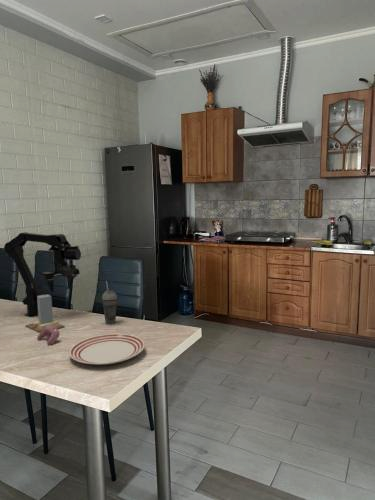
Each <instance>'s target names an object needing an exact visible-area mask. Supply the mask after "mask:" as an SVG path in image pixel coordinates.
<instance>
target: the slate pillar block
mask: <svg viewBox="0 0 375 500" xmlns="http://www.w3.org/2000/svg"><path fill="white" fill-rule="evenodd" d="M37 303H38V315H37V317H38V319H37V320H38V321H39V322H40V323H41V324H46V323H52V322H53V320H54V319H53V318H54V316H53V300H52V296H51V295H50V294H44V295H40V296H37Z"/></svg>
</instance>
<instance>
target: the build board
mask: <svg viewBox="0 0 375 500" xmlns="http://www.w3.org/2000/svg"><path fill="white" fill-rule="evenodd" d="M46 326H47V327H48V326H53V327H55V328H57V330H60V329H63V328H65V325H64V324H60V323H59V321H58V320H55V319H53V322H52V323H46V324H41V323H40V322H39V320H37V321H34V322H33V321H32V323H29V324H26V325H25V328H27V329H30V330H32V331H35V332H37V333H39V334H40V333H41V332H42V331H43V329H44V328H46Z"/></svg>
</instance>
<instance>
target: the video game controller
mask: <svg viewBox="0 0 375 500" xmlns="http://www.w3.org/2000/svg"><path fill="white" fill-rule="evenodd" d="M59 337H60V330H59V329H57V328H55V327H53V326H48V327H47V326H46V328H44V329H43V331H42V332H41V333H39V334H38V335H37V337H36V339H37V340H38V341H41V340H44V338H45V339H46V340H47V341H46V345H47V346H52V345H53V344H54V343H55V342H56V340H57V339H58V338H59Z"/></svg>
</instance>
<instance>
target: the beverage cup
mask: <svg viewBox="0 0 375 500" xmlns="http://www.w3.org/2000/svg"><path fill="white" fill-rule="evenodd" d="M105 283H106V284H105V285H106V291H104V293H102V295H101V296H102V297H101V302H102V306H103V307H102V308H103V314H104V321H105V325H115V324H116V317H117V303H118V295H117V294H116V292H115V291H114V290H111V289H109V287H108V286H109V284H108V281H107V280H106V281H105Z"/></svg>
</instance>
